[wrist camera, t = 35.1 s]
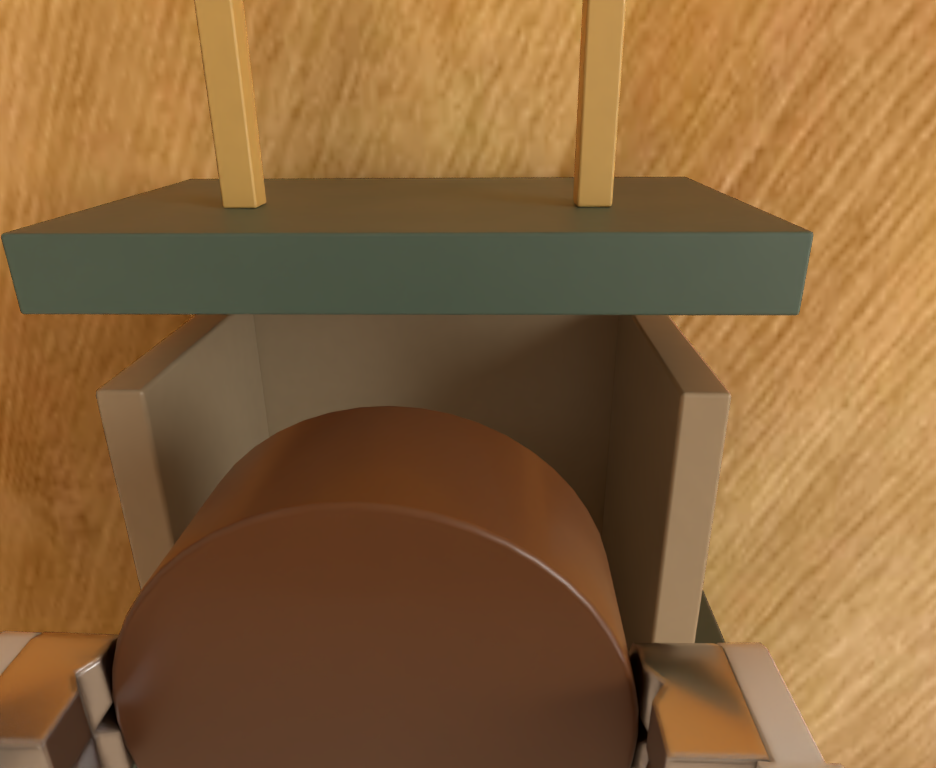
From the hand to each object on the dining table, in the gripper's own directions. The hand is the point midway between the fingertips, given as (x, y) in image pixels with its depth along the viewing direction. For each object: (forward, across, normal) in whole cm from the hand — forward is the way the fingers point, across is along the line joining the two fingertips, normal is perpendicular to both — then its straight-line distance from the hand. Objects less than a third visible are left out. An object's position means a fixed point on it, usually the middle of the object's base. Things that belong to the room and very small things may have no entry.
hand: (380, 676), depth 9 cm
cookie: (+2, 0, 0) cm, 2 cm away
